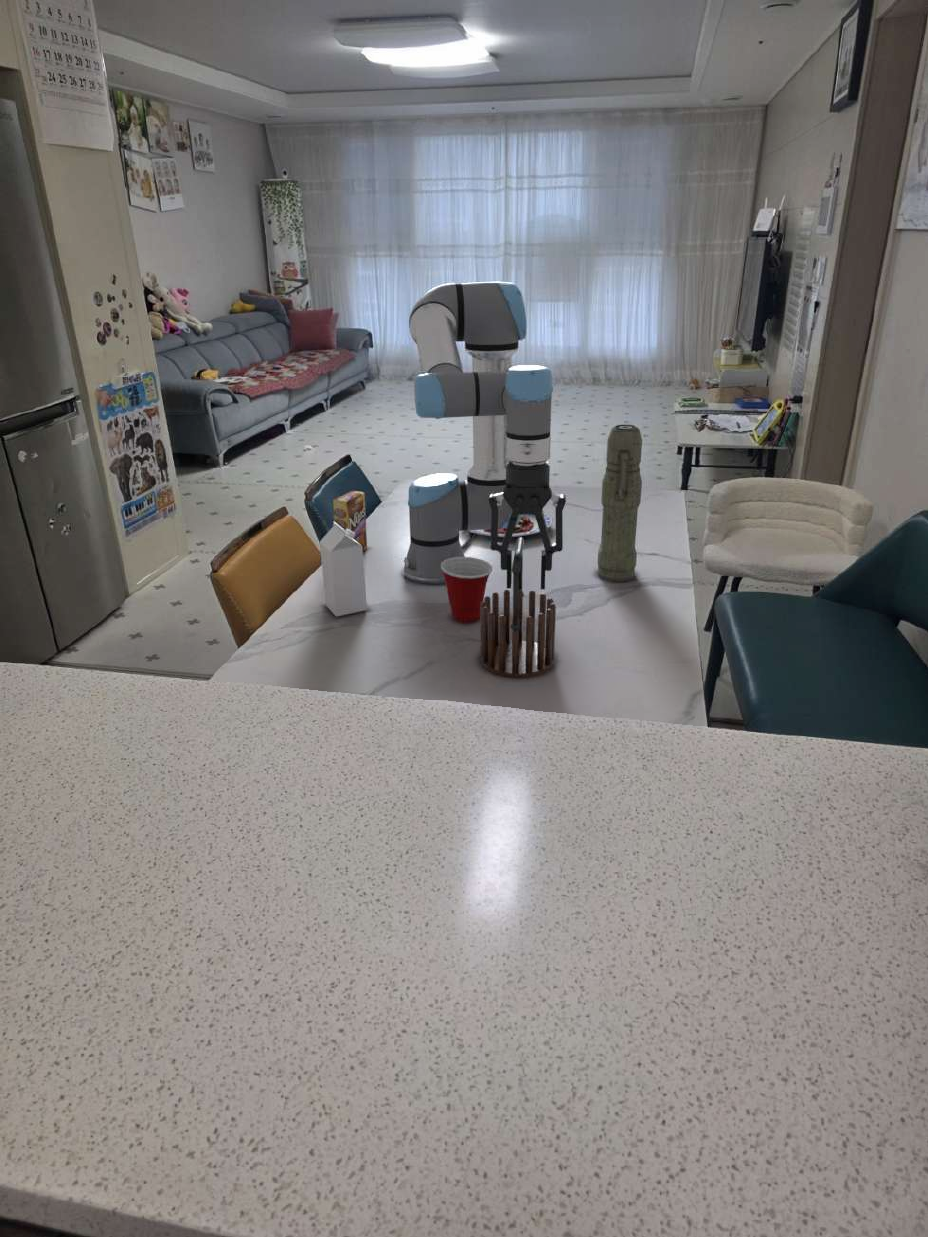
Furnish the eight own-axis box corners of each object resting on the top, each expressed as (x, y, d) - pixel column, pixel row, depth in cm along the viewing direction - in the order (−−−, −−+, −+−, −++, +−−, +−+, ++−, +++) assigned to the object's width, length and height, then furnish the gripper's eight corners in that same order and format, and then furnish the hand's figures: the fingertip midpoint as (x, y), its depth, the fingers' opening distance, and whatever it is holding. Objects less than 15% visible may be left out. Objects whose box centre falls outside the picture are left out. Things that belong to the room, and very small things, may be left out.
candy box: (350, 559, 208) (345, 501, 201) (336, 557, 209) (331, 499, 203) (368, 548, 215) (364, 491, 209) (354, 546, 217) (350, 490, 210)
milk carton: (336, 617, 176) (328, 533, 168) (325, 605, 182) (317, 524, 174) (367, 610, 179) (361, 527, 171) (355, 599, 185) (349, 518, 177)
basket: (483, 535, 156) (558, 537, 155) (484, 639, 165) (554, 642, 164) (474, 566, 142) (556, 568, 140) (476, 679, 151) (553, 682, 149)
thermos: (631, 565, 201) (641, 420, 186) (638, 584, 190) (650, 432, 175) (594, 565, 201) (602, 421, 186) (599, 584, 190) (608, 432, 176)
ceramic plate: (568, 522, 231) (568, 511, 230) (524, 549, 212) (524, 538, 211) (489, 508, 244) (489, 499, 243) (441, 533, 225) (440, 523, 223)
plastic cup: (488, 630, 170) (487, 575, 164) (436, 626, 172) (435, 572, 167) (496, 608, 179) (496, 556, 174) (448, 605, 181) (446, 554, 176)
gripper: (472, 465, 138) (473, 593, 148) (583, 466, 136) (577, 595, 146) (475, 455, 145) (477, 577, 155) (581, 455, 143) (576, 579, 153)
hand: (525, 585), depth 150 cm, fingers open, 5 cm apart
